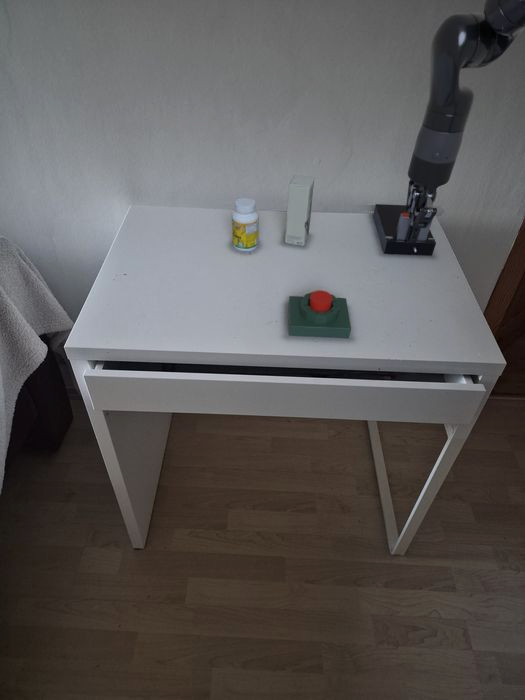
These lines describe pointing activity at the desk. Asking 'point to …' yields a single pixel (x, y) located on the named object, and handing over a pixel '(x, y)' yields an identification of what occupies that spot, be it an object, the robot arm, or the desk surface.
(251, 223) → the supplement bottle
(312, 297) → the button
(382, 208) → the black rectangular base
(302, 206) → the box
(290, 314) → the button box
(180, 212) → the desk surface
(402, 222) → the grey and red bar
